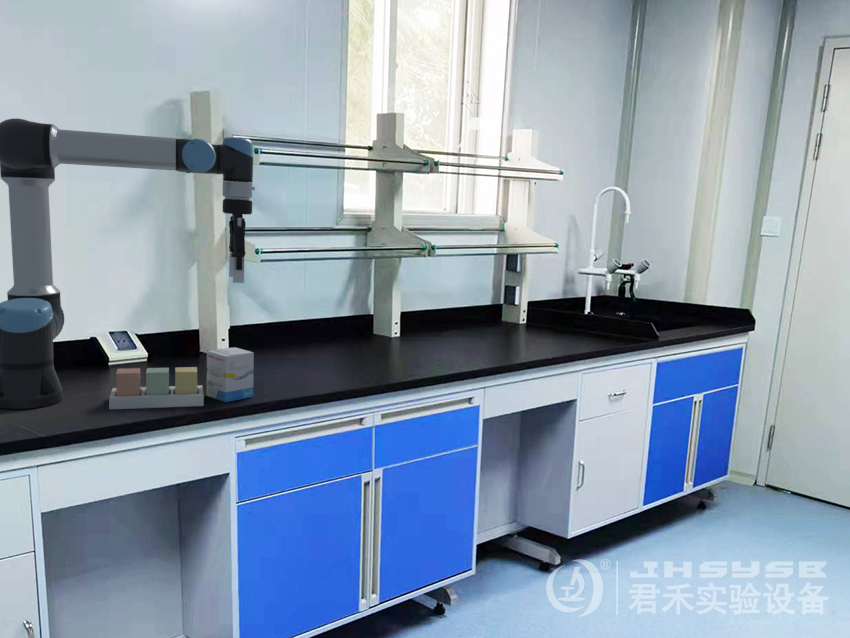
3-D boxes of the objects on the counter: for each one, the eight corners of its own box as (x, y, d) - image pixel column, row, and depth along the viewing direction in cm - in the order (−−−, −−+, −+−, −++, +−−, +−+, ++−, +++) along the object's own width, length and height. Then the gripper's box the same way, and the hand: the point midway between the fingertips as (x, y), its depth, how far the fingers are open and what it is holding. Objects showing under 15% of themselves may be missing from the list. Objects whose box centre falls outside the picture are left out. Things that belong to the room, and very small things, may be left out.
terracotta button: (116, 398, 174) (116, 373, 173) (118, 393, 179) (117, 368, 178) (139, 397, 176) (139, 373, 175) (140, 392, 180) (140, 368, 180)
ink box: (254, 397, 188) (254, 351, 186) (225, 402, 182) (225, 356, 180) (234, 390, 194) (234, 346, 192) (205, 395, 187) (205, 350, 186)
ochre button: (175, 396, 178) (175, 372, 177) (175, 391, 183) (175, 367, 182) (197, 396, 180) (197, 371, 179) (196, 390, 185) (196, 367, 184)
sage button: (146, 397, 176) (146, 372, 175) (147, 392, 181) (146, 368, 180) (168, 397, 178) (168, 372, 177) (168, 391, 182) (168, 367, 182)
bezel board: (109, 409, 172) (109, 398, 171) (112, 398, 181) (112, 387, 181) (203, 405, 178) (203, 395, 178) (202, 395, 188) (202, 385, 187)
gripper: (257, 200, 185) (255, 285, 188) (247, 198, 208) (246, 274, 211) (225, 198, 182) (224, 285, 185) (220, 197, 206) (219, 274, 209)
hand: (236, 279), depth 198 cm, fingers open, 13 cm apart
